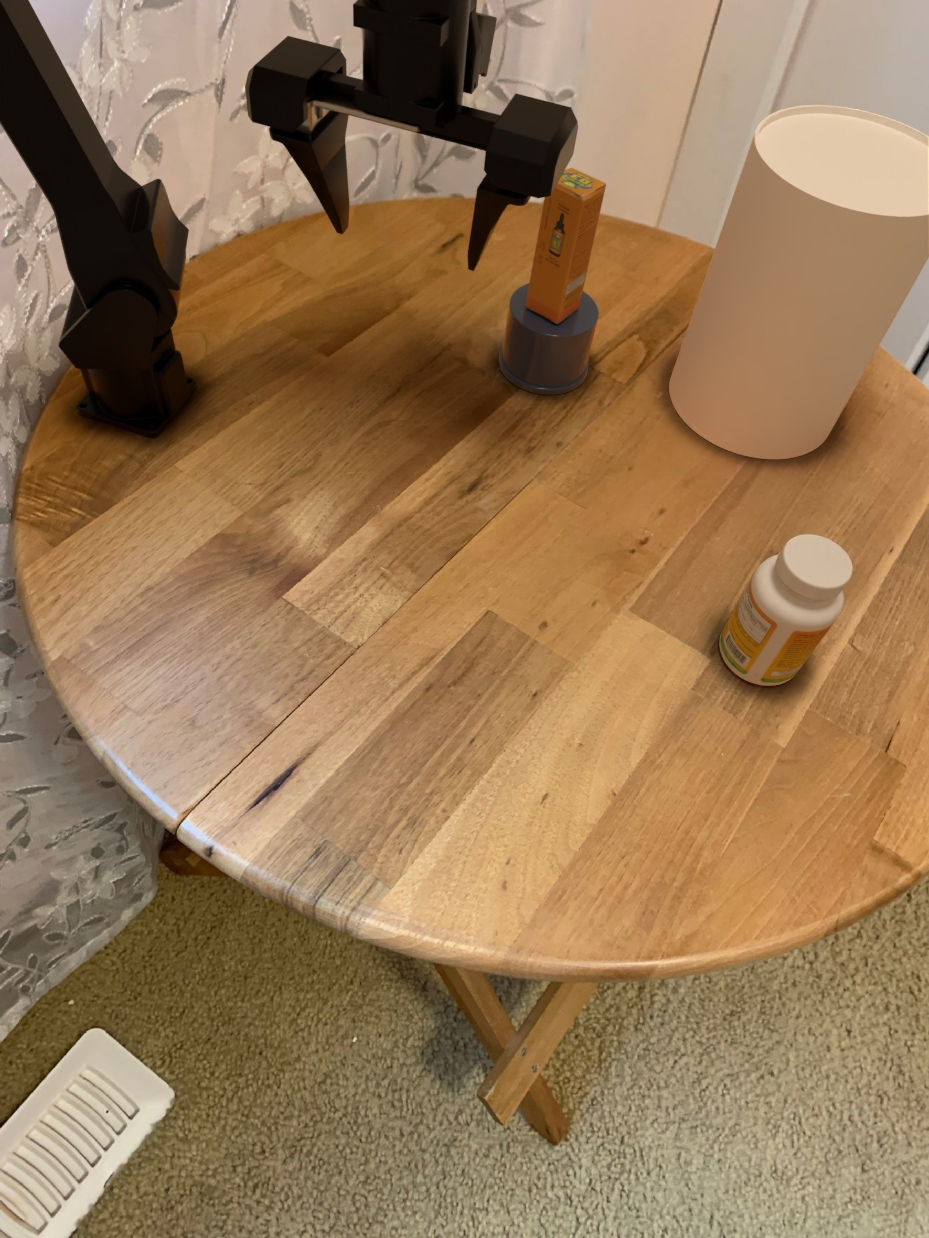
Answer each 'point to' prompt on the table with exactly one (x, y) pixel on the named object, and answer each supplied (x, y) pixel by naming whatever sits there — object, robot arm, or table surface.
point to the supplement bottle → (786, 610)
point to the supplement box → (564, 245)
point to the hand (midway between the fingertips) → (407, 248)
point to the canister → (803, 278)
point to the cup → (547, 346)
